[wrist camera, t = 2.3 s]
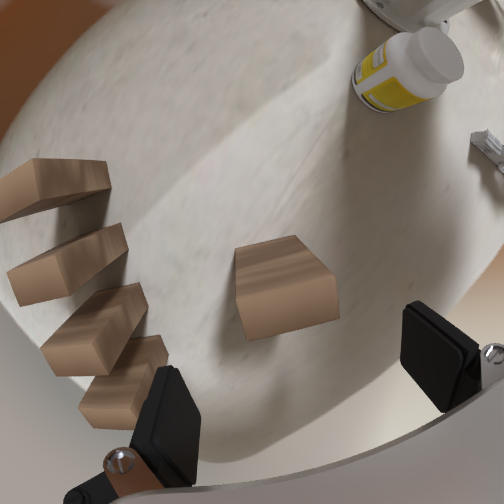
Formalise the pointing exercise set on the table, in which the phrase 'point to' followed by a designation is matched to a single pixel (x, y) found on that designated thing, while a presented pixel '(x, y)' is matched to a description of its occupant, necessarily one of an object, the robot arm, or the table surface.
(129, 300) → the domino
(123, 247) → the domino
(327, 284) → the domino
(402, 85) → the supplement bottle
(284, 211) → the table surface
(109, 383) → the domino
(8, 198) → the domino
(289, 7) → the table surface
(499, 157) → the garden wall model
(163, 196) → the table surface
